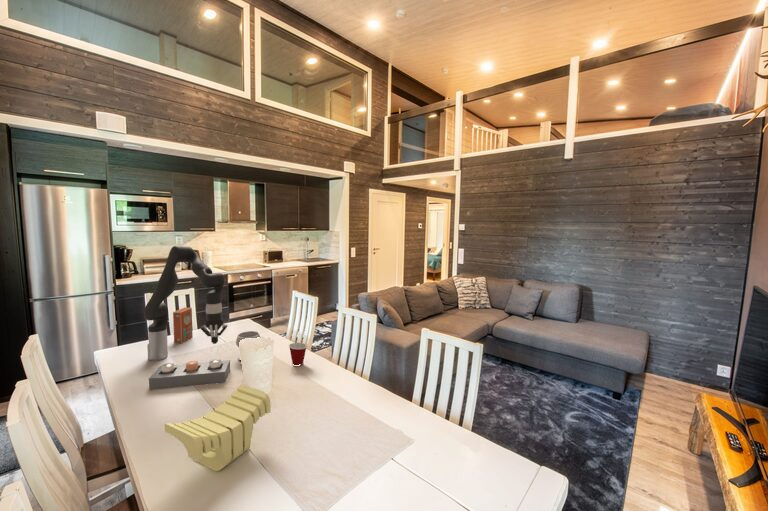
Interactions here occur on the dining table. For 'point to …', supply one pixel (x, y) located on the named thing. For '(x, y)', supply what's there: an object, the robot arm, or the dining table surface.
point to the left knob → (168, 368)
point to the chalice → (246, 335)
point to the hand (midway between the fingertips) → (214, 343)
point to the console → (189, 376)
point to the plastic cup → (297, 352)
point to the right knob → (215, 364)
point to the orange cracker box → (182, 325)
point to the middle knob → (192, 366)
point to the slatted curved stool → (223, 428)
